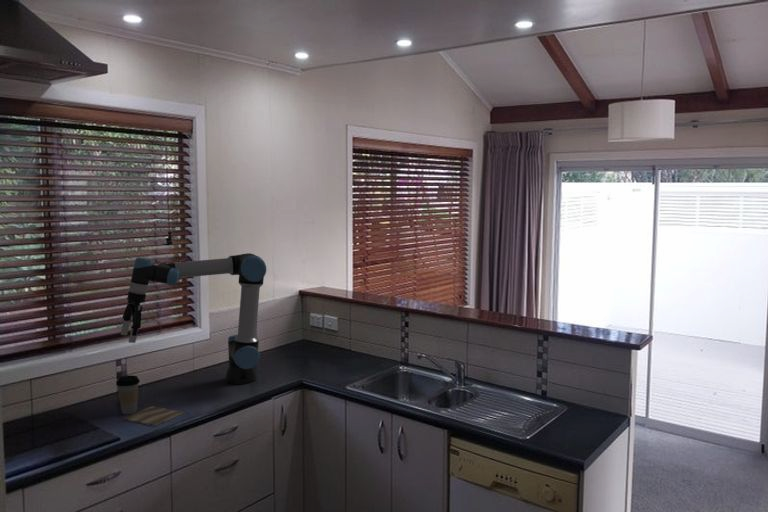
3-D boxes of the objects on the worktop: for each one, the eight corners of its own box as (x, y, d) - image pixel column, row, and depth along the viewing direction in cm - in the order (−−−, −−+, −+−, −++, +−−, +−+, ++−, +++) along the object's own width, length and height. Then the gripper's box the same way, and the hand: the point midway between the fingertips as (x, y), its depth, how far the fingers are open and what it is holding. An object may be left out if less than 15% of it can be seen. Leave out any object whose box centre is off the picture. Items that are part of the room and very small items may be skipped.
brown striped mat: (183, 413, 270) (183, 412, 269) (156, 426, 255) (156, 425, 255) (152, 407, 277) (151, 406, 277) (123, 419, 262) (123, 418, 262)
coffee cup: (113, 415, 268) (111, 381, 266) (125, 407, 277) (124, 374, 275) (133, 416, 266) (131, 382, 265) (145, 408, 276) (143, 375, 274)
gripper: (121, 286, 287) (112, 331, 287) (136, 296, 267) (126, 345, 268) (138, 288, 292) (128, 332, 292) (154, 298, 272) (144, 346, 272)
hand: (127, 338), depth 280 cm, fingers open, 13 cm apart
